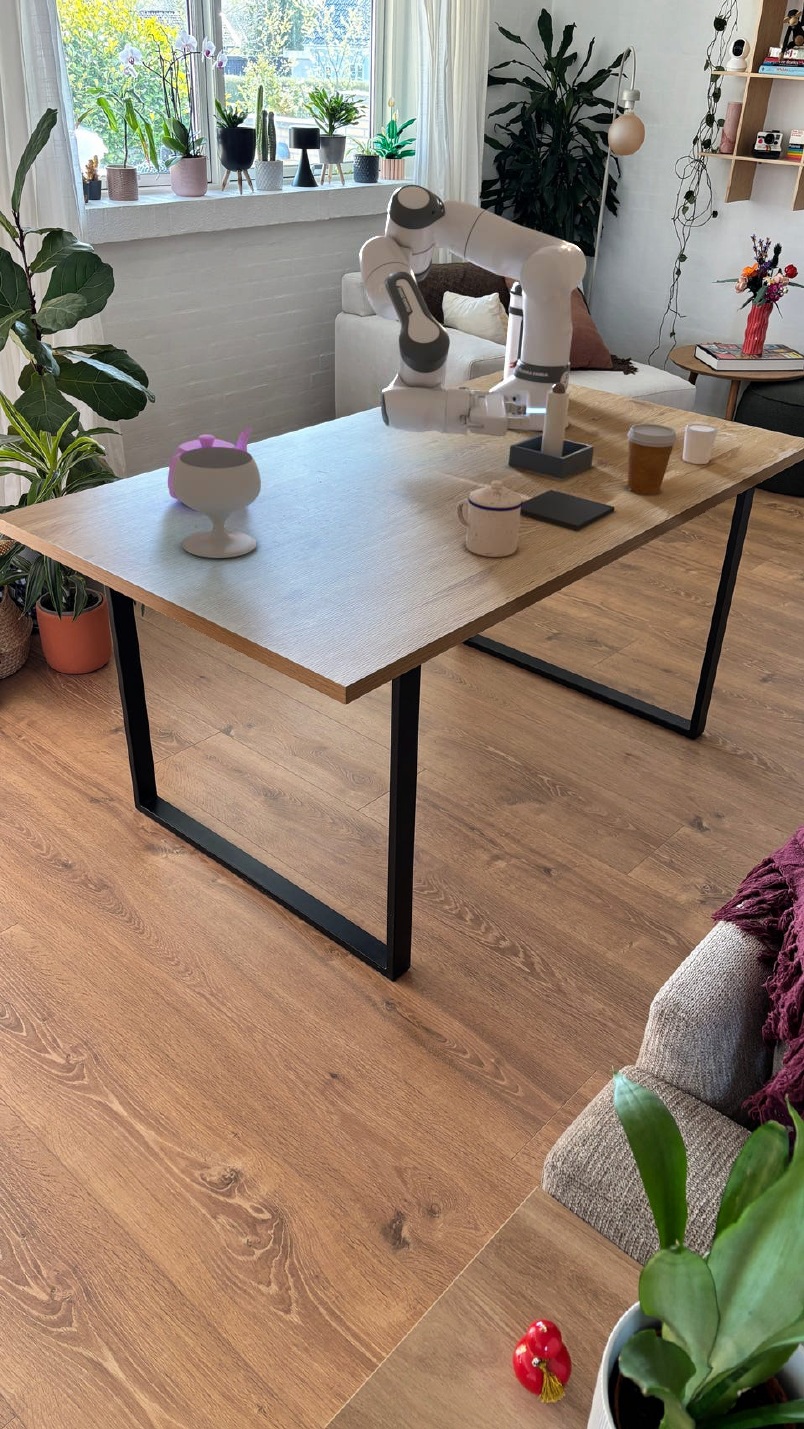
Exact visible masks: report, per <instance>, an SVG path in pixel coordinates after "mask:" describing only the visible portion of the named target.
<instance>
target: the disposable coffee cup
mask: <svg viewBox="0 0 804 1429" xmlns="http://www.w3.org/2000/svg"><path fill="white" fill-rule="evenodd" d="M626 435H627V440H628V459H627V460H628V463H627V487H628V489H630V491H629V492H632V493H635V494H638V495H647V496H652V495H657V494H659V493H660V491H661V487H662V484H663V481H664V478H665V473H666V471H667V469H668V468H667V467H668V464H669V461H670V458H671V454H672V451H673V447H674V445H675V444H676V442H678V441H677V440H678V437H677V432H676V430H675V429H673V428H672V427H669V426H665V425H661V424H655V423H637V424H633V425H632V426H631V427H630V428H629V431H628V432H627V434H626Z"/></svg>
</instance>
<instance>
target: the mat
mask: <svg viewBox="0 0 804 1429" xmlns="http://www.w3.org/2000/svg"><path fill="white" fill-rule="evenodd" d="M615 507H616V506H613V505H611V504H610V505H609V504H605V503H602V502H598V501H595V500H591V499H588V498H583V497H579V496H576V495H573V494H569V493H566V492H565V493H564V492H561V491H557V490H554V489H549V490H547V491H544V492H542V493H540V494H538V495H535V496H534V497H531V498H528V499H527V500H524V501H523V504H522V506H521V510H520V516H524V517H527V518H530V519H535V520H537V521H541V522H545V523H548V524H552V525H555V526H559V527H563V528H565V529H569V530H573V531H576V532H578V531H580V530H582V529H584V528H586V527H587V526H590V525H592V524H593V523H595V522H597V521H599V520H601V519H603V518H605V517H608V516H609V515H611V514H613V513H614V512H615V510H616V509H615Z"/></svg>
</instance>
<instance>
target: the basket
mask: <svg viewBox="0 0 804 1429" xmlns="http://www.w3.org/2000/svg"><path fill="white" fill-rule="evenodd" d="M542 438H543V433H541V434H538V435H535V436H532V437H530V438H527V439H525V440H522V441H519V442H517V443H514V444H511V445H510V446H509V454H508V466H511V467H514V468H518V469H522V470H525V471H530V472H533V473H537V474H540V475H541V474H542V475H545V476H549V477H554V478H557V479H561V480H562V479H564V478H566V477H568V476H570V475H572V474H576V473H578V472H579V471H582V470H584V469H586V468H588V467H591V466H592V465H593V459H594V458H593V456H594V450H595V446H594V445H590V444H587V443H582V442H579V441H574V440H571V439H565V438H564V444H563V452H562V457H559V456H555V455H551V454H547V453H543V452H541V447H542Z"/></svg>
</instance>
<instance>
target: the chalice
mask: <svg viewBox="0 0 804 1429" xmlns="http://www.w3.org/2000/svg"><path fill="white" fill-rule="evenodd" d="M259 470H260V469H259V467H258V464H257V462H256V461H255V459H254V457H253V456H252V454H251V453H249V452H248V451H247V452H245V451H243V450H239V449H234V448H226V447H205V448H198V449H193V450H189V451H186V452H184V453H183V454H181V455H180V457H179V458H178V461H177V463H176V466H175V470H174V475H173V489H174V492H175V494H176V496H177V497H178V499H179V500H180V501H179V500H178V501H179V502H181V503H182V504H184V506H187V507H188V508H189V509H192V510H194V511H197V512H199V513H201V514H203V515H205V516H206V517H208V519H209V520H210V521H211V524H212V526H213V529H212V530H204V531H200V532H197V533H194V534H191V535H190V536H188V537H186V538H185V539H184V540H183V542H182V545H181V546H182V548H183V549H184V550H185V551H186V552H188V553H189V554H192V555H195V556H198V557H203V558H212V559H223V558H224V559H225V558H235V557H239V556H243V555H246V554H248V553H250V552H252V551H253V550H255V549H256V547H257V544H258V543H257V541H256V539H255V538H254V537H252V536H251V535H250V534H247V533H245V532H241V531H236V530H228V529H226V528H225V526H226V522H227V520H228V519H229V517H230V516H232V515H233V514H234V513H237V512H239V511H240V510H243V509H245V508H247V507H248V506H250V505H251V504H253V503H254V502H255V501H256V500H257V498H258V497H259V495H260V492H261V490H262V488H261V487H262V480H261V474H260V471H259Z"/></svg>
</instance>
